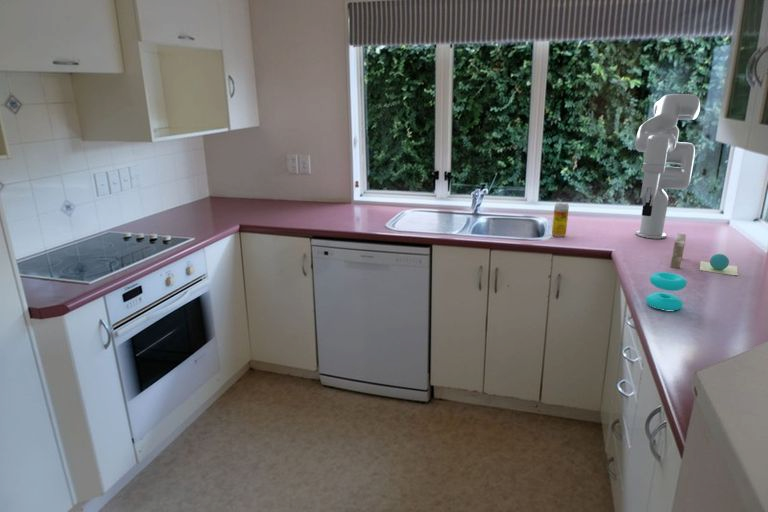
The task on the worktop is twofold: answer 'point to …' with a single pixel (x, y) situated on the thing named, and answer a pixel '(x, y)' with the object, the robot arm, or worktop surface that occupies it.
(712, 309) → the worktop surface
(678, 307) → the donuts
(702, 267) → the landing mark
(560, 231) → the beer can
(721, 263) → the ball
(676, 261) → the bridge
